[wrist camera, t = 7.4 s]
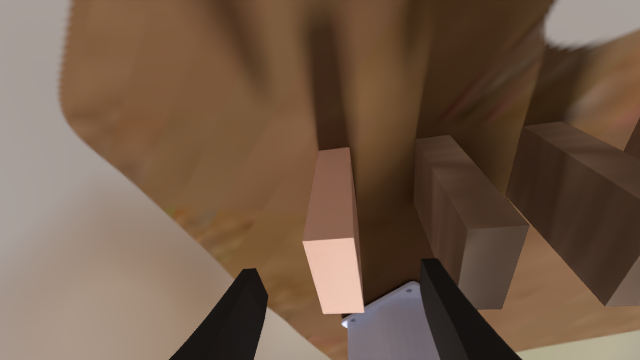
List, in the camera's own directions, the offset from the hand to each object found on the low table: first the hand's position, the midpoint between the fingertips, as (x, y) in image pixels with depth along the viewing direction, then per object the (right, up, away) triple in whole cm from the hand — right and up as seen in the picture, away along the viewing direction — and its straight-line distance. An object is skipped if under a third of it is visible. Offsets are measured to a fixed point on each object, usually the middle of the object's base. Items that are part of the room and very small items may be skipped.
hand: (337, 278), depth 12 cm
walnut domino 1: (+6, +5, +6) cm, 10 cm away
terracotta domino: (+1, +4, +7) cm, 8 cm away
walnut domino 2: (+12, +6, +5) cm, 14 cm away
